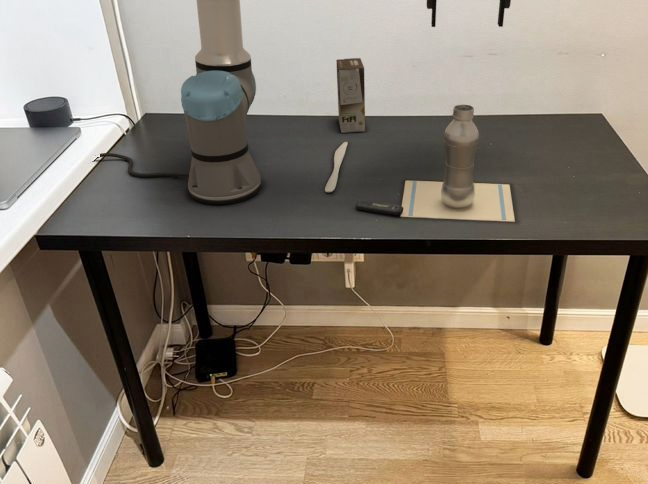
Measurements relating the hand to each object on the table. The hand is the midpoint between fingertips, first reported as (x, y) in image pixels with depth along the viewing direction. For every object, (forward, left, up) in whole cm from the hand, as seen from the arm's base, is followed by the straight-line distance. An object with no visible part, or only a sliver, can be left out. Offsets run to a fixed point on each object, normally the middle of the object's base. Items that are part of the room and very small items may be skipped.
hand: (466, 25), depth 133 cm
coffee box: (-27, +18, -30) cm, 44 cm away
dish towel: (0, -21, -29) cm, 36 cm away
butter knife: (-27, -7, -29) cm, 41 cm away
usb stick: (-15, -27, -29) cm, 43 cm away
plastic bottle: (0, -23, -29) cm, 37 cm away
